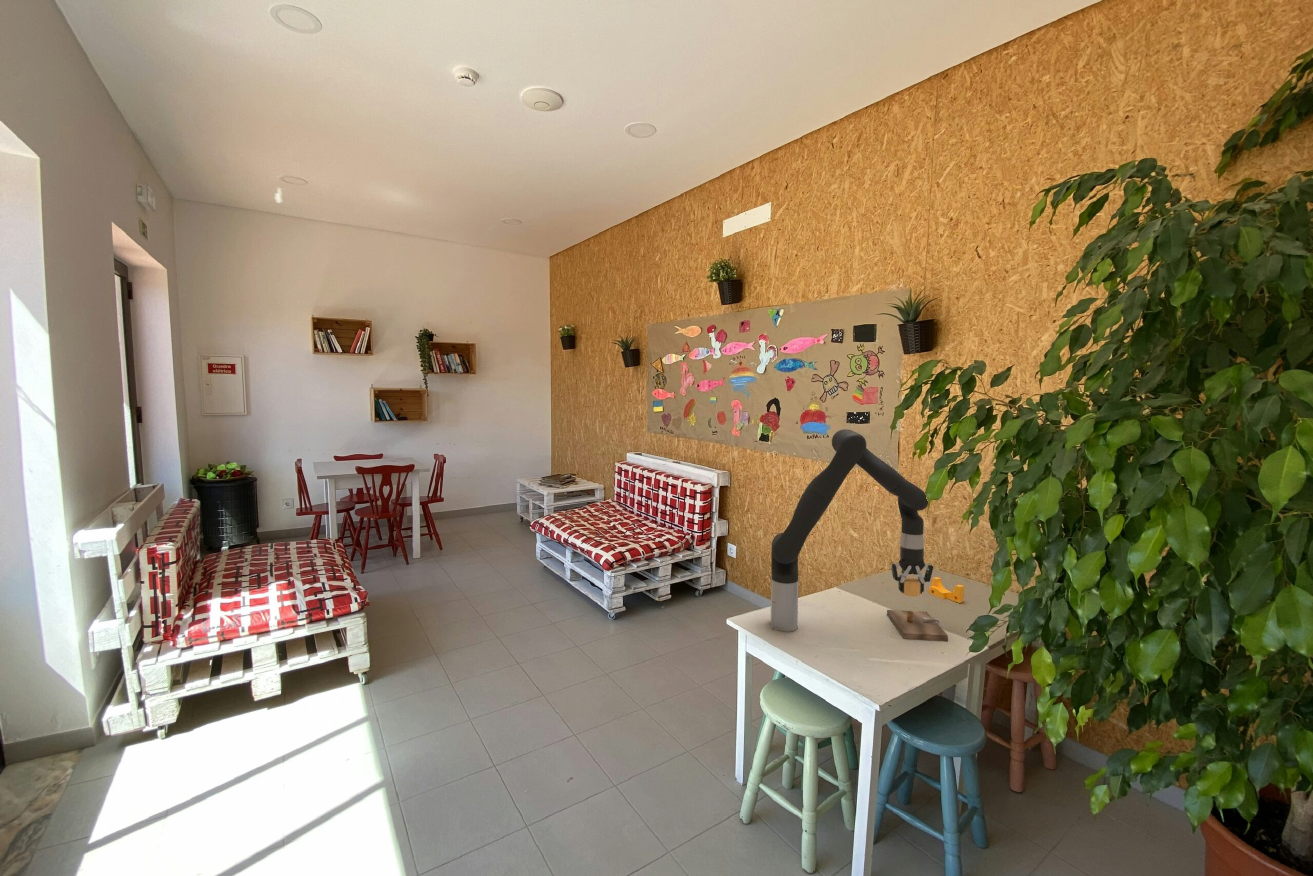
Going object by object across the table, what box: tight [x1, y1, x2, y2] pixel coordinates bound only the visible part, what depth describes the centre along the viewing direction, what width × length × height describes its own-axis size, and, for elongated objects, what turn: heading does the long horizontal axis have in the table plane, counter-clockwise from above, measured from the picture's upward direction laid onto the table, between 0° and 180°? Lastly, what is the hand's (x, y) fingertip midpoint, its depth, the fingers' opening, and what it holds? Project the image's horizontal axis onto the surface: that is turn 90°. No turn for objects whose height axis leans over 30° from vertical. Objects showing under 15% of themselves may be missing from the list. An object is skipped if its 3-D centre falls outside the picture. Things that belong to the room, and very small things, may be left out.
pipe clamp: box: [928, 576, 965, 604], centre depth 217 cm, size 12×4×6 cm, turn 26°
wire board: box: [886, 609, 949, 642], centre depth 190 cm, size 14×20×6 cm
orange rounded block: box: [902, 576, 921, 598], centre depth 189 cm, size 6×5×5 cm
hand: (911, 592), depth 189 cm, fingers closed on orange rounded block, 5 cm apart
